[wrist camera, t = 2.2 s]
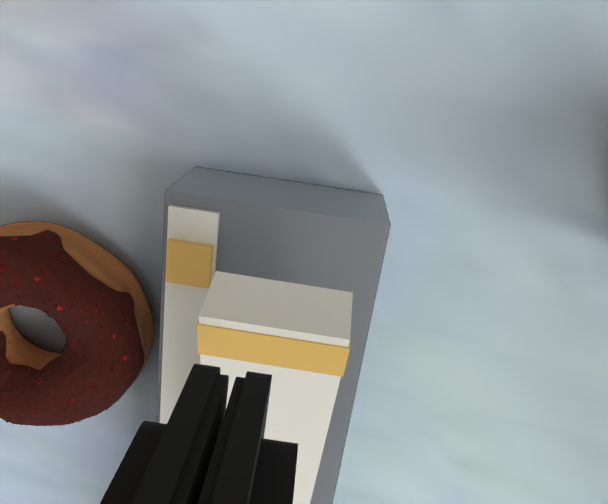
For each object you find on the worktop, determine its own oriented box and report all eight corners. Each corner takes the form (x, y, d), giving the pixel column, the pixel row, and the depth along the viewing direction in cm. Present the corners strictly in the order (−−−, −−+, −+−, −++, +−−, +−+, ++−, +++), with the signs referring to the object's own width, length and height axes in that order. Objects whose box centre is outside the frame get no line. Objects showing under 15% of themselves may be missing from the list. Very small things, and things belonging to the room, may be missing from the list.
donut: (-7, 396, 28) (-62, 449, 24) (-69, 219, 24) (-144, 250, 20) (177, 391, 27) (150, 447, 23) (140, 207, 23) (101, 236, 19)
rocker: (354, 292, 15) (352, 341, 13) (311, 478, 22) (306, 523, 20) (214, 270, 15) (196, 316, 14) (215, 462, 22) (204, 506, 21)
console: (382, 195, 22) (394, 240, 17) (299, 619, 32) (289, 730, 26) (195, 166, 22) (148, 202, 17) (170, 597, 32) (136, 703, 27)
